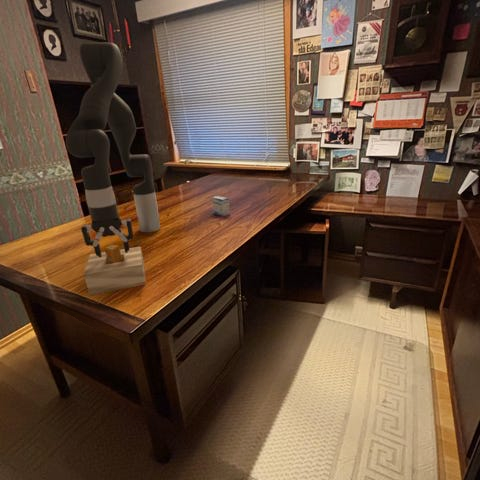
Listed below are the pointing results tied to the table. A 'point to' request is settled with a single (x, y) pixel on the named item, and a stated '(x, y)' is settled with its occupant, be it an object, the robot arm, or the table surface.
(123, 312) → the table surface
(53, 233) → the table surface
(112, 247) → the supplement box
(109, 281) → the bore block
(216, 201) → the medicine box
